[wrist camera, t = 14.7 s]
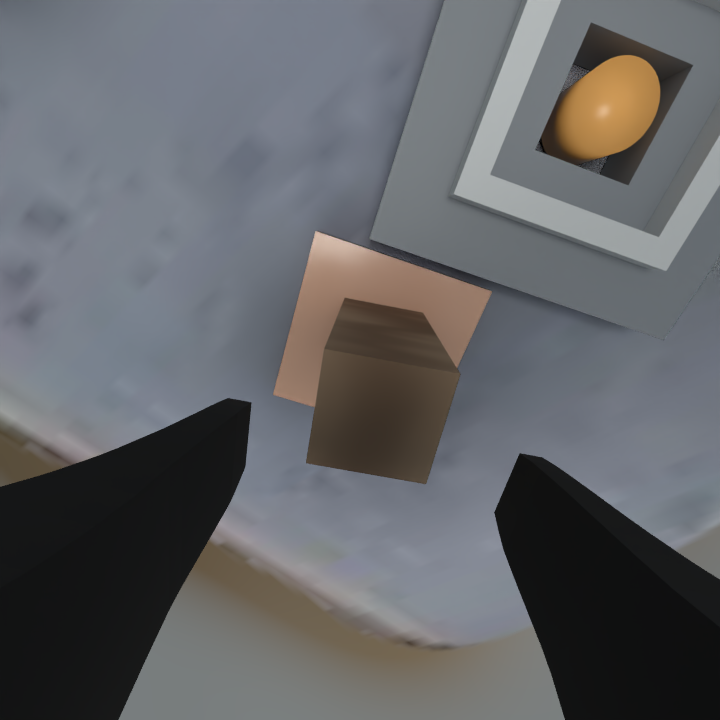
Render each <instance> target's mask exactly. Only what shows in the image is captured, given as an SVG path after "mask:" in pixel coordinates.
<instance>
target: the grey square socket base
mask: <svg viewBox="0 0 720 720" xmlns="http://www.w3.org/2000/svg"><path fill="white" fill-rule="evenodd" d="M622 55H633V56H637V57H640V58H642V59H644V60H645V61H647V62H648V63H649V64H650V65H651V66H652V67H653V69H654V70H655V72H656V74H657V76H658V80H659V84H660V101H659V106H658V110H657V113H656V115H655V118H654V120H653V122H652V123H651V125H650V127H649V128H648V130H647V131H646V132H645V134H644V135H643V136H642V137H641V138H640V139H639V140H638V141H637V142H636V143H634V144H633V145H632V146H630V147H628V148H627V149H625V150H623V151H620V152H617V153H614V154H611V155H609V157H608V159H607V161H606V163H605V165H604V167H603V169H602V171H601V173H600V174H597V173H594V172H592V171H589V170H586V169H584V168H581V167H579V166H576V165H573V164H571V163H568V162H565V161H563V160H560V159H558V158H555V157H552V156H550V155H547V154H544V153H542V152H539V151H537V150H535V149H536V147H537V144H538V142H539V140H540V137H541V135H542V133H543V131H544V128H545V126H546V124H547V122H548V119H549V117H550V115H551V112H552V110H553V108H554V106H555V103H556V101H557V99H558V96H559V94H560V92H561V90H562V87H563V85H564V83H565V81H566V78H567V76H568V74H569V71H570V69H571V67H572V65H573V64H576V65H578V66H581V67H583V68H586V69H588V70H591V71H592V70H593V69H595V68H596V67H597V66H599V65H600V64H602V63H603V62H605V61H607V60H609V59H611V58H614V57H617V56H622ZM369 239H371V240H374V241H377V242H380V243H383V244H385V245H388V246H391V247H394V248H397V249H400V250H403V251H406V252H409V253H412V254H415V255H417V256H420V257H423V258H426V259H429V260H432V261H435V262H438V263H441V264H444V265H446V266H449V267H452V268H455V269H458V270H461V271H464V272H467V273H470V274H473V275H475V276H478V277H481V278H484V279H487V280H490V281H493V282H496V283H499V284H502V285H504V286H507V287H510V288H513V289H516V290H519V291H522V292H525V293H528V294H531V295H533V296H536V297H539V298H542V299H545V300H548V301H551V302H554V303H557V304H560V305H562V306H565V307H568V308H571V309H574V310H577V311H580V312H583V313H586V314H589V315H591V316H594V317H597V318H600V319H603V320H606V321H609V322H612V323H615V324H618V325H620V326H623V327H626V328H629V329H632V330H635V331H638V332H641V333H644V334H647V335H649V336H652V337H655V338H658V339H661V340H664V339H665V338H666V336H667V335H668V333H669V332H670V330H671V329H672V327H673V326H674V324H675V323H676V321H677V320H678V318H679V317H680V315H681V314H682V312H683V311H684V309H685V308H686V306H687V305H688V303H689V302H690V300H691V299H692V297H693V296H694V294H695V293H696V291H697V290H698V288H699V287H700V286H701V284H702V283H703V281H704V280H705V278H706V277H707V275H708V274H709V272H710V271H711V269H712V268H713V266H714V265H715V263H716V262H717V260H718V259H719V257H720V0H444V3H443V7H442V10H441V13H440V16H439V19H438V22H437V26H436V29H435V32H434V35H433V38H432V41H431V45H430V48H429V51H428V54H427V57H426V60H425V64H424V67H423V70H422V73H421V76H420V79H419V83H418V86H417V89H416V92H415V95H414V99H413V102H412V105H411V108H410V111H409V114H408V118H407V121H406V124H405V127H404V130H403V133H402V137H401V140H400V143H399V146H398V149H397V152H396V156H395V159H394V162H393V165H392V168H391V171H390V175H389V178H388V181H387V184H386V187H385V191H384V194H383V197H382V200H381V203H380V206H379V210H378V213H377V216H376V219H375V222H374V225H373V229H372V232H371V235H370V238H369Z"/></svg>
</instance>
